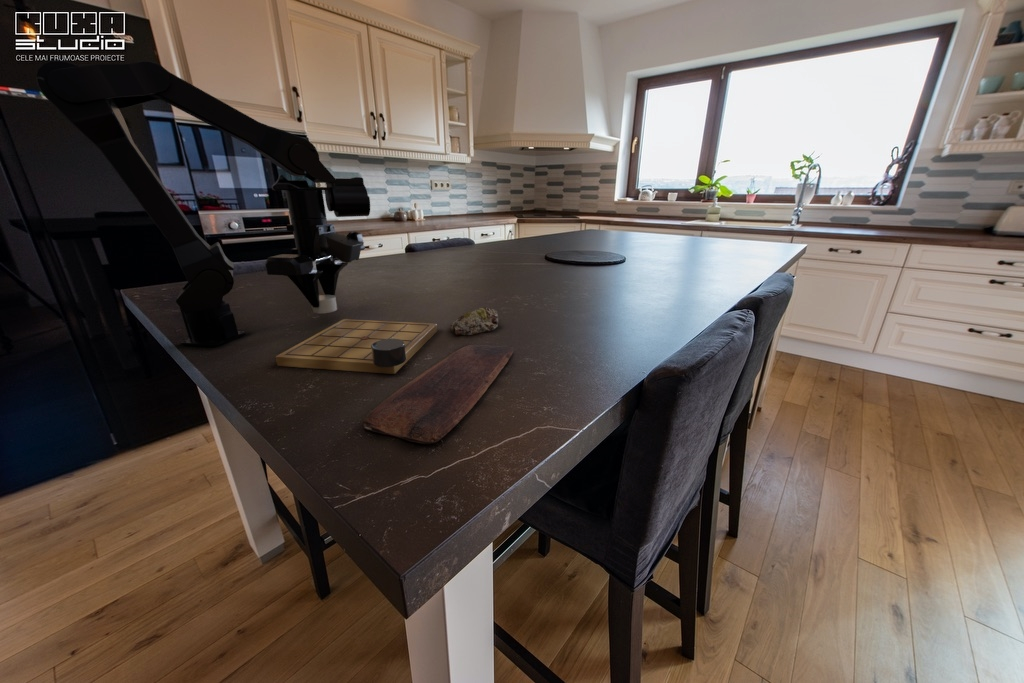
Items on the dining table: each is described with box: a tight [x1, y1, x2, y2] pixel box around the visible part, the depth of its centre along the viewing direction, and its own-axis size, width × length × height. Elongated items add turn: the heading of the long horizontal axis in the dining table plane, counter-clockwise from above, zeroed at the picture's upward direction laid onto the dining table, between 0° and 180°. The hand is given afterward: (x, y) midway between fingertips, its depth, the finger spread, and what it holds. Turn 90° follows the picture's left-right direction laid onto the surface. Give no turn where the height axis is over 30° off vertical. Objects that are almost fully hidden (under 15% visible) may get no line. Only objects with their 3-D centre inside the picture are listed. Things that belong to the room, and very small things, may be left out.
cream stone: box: [310, 294, 338, 314], centre depth 75 cm, size 4×4×2 cm
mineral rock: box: [450, 307, 500, 336], centre depth 73 cm, size 11×4×8 cm
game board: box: [275, 318, 438, 375], centre depth 64 cm, size 18×18×2 cm
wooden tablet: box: [362, 344, 514, 445], centre depth 51 cm, size 26×2×10 cm
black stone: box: [371, 339, 406, 367], centre depth 55 cm, size 4×4×2 cm
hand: (323, 303), depth 75 cm, fingers closed on cream stone, 4 cm apart
